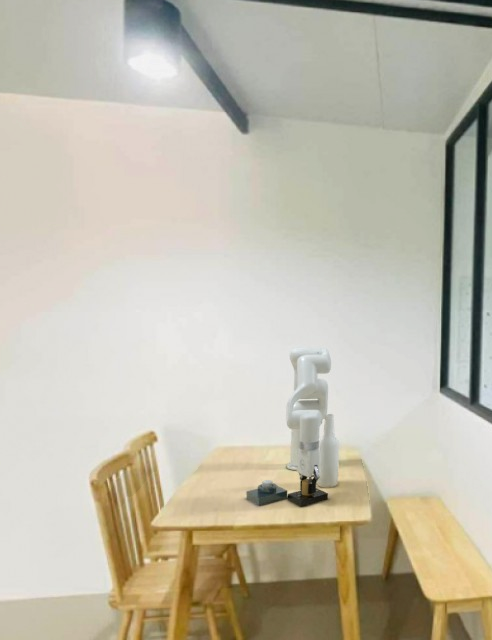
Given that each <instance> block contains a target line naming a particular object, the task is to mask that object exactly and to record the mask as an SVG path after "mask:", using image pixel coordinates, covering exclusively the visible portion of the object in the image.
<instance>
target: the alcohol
mask: <svg viewBox="0 0 492 640" xmlns="http://www.w3.org/2000/svg"><path fill="white" fill-rule="evenodd" d="M318 450H319V460H320V470H319V475H320V478H319V479H318V480H317V483H316V485H317V486H318V487H320V488H327V489H328V488H333V487H335V486H337V485H338V483H339V456H340V442H339V439H338V437H336V435H335V415H334V414H333V413H330V414H329V413H327V415H325V419H324V425H323V433H322V437H321V438H319V449H318Z"/></svg>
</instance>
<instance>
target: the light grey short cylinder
mask: <svg viewBox="0 0 492 640" xmlns="http://www.w3.org/2000/svg"><path fill="white" fill-rule="evenodd" d="M273 483H274V482H273V480H271V479H270V480H269V479H266V480H262V481H261V484H262V488H270V487H273Z"/></svg>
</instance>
